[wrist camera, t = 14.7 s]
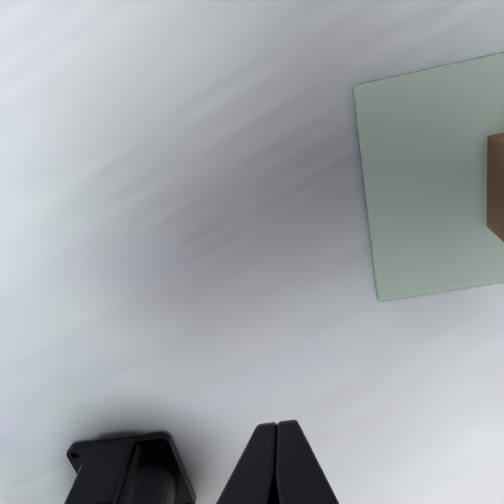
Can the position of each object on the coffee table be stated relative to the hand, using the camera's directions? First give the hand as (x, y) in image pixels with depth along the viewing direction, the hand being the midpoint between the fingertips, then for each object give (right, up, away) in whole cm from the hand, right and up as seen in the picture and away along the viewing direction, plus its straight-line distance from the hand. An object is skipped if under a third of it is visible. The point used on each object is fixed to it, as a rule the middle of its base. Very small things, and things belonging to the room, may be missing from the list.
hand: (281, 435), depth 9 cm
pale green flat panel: (+11, +7, +9) cm, 16 cm away
